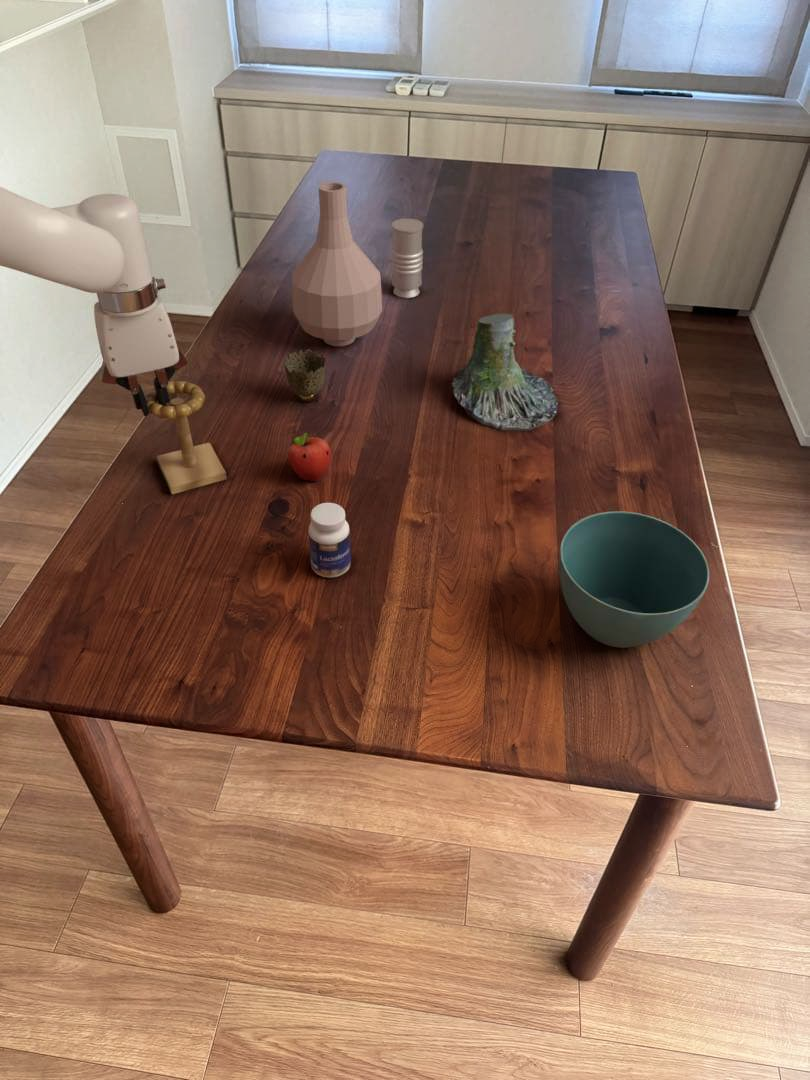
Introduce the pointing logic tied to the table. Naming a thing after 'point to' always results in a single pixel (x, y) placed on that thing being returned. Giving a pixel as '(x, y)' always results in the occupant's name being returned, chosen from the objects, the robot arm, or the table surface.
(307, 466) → the apple
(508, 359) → the tree stump
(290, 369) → the cup
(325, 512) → the pill bottle
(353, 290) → the vase
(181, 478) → the post stand
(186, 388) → the ring
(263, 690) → the table surface
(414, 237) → the ribbed beige cylinder
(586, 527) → the teal bowl
